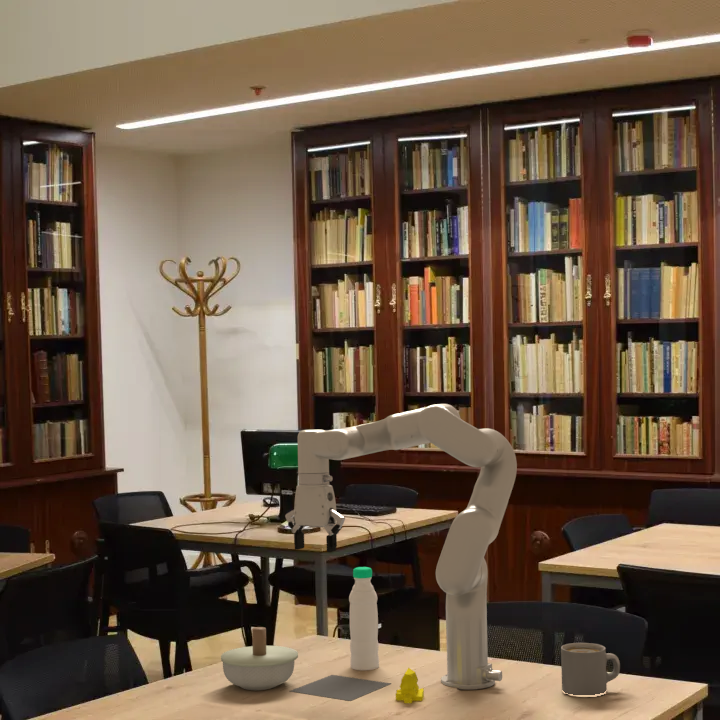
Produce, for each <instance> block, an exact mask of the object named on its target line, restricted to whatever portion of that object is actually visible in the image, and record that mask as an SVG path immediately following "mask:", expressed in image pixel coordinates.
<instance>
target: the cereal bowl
mask: <svg viewBox="0 0 720 720" xmlns="http://www.w3.org/2000/svg"><path fill="white" fill-rule="evenodd" d="M294 668H295V660H294V661H292V662H289V663H285V664H281V665H275V666H265V667H240V666H233V665H228V664H225V663H223V662H222V669H223V674H224V677H225V678H226V679H227V681H229V683H231V684H232V685H234V686H237V687H240V688H241V689H244V690H249V691H263V690H271V689H273V688H276V687H278V686H279V685H281V684H283V683H286V682H287V681H289V679H291V677H292V675H293V674H294Z"/></svg>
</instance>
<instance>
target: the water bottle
mask: <svg viewBox="0 0 720 720" xmlns="http://www.w3.org/2000/svg"><path fill="white" fill-rule="evenodd" d="M352 577H353V579H354V584H353V586H352V588H351V591H350V593H349V596H348V601H349V634H350V642H349V643H350V644H349V649H350V669H352V670H355V671H372V670H376V669H378V668H379V667H380V658H379V641H378V635H379V617H378V615H379V613H378V604H377V603H378V595H377V594H378V593H377V592H376V591H375V587H374V585H373V584H372V582H371V580H372V577H373V569H372V568H371V567H368V566H357V567H354V568H353V571H352Z"/></svg>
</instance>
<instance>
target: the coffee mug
mask: <svg viewBox="0 0 720 720" xmlns="http://www.w3.org/2000/svg"><path fill="white" fill-rule="evenodd" d="M606 649H607V648H606V647H605V646H604V645H602V644H599V643H592V642H591V643H589V642H573V643H566V644H563V645H561V647H560V660H561V661H560V662H561V666H560V667H561V669H560V670H561V691H562V690H563V691H564V692H565V693H568V694H573V695H595V694H600V693H604V692H605V691H606V690H608V687H607V686H608V685H607V684H608V682H610V681H613V680H615V679H617V678H618V676H619V674H620V670H621V663H620V662H621V661H620V660H619V659H620V658H619V657H618V656H617V655H616V654H614V653H611V652H610V653H609V652H608V653H606V651H607V650H606ZM609 660H610V661H612V664H613V669H612V671H611V672H607V662H608V661H609Z"/></svg>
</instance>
